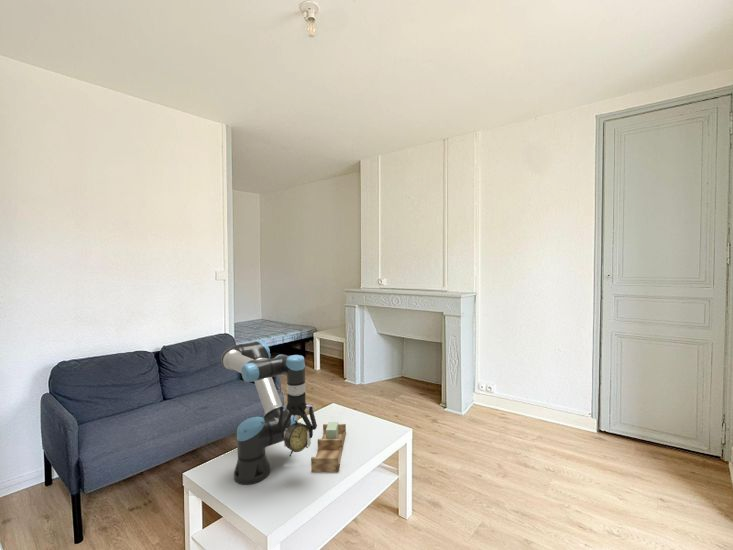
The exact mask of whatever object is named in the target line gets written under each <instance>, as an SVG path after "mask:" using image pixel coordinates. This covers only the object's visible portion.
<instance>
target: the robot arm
mask: <svg viewBox="0 0 733 550" xmlns="http://www.w3.org/2000/svg"><path fill="white" fill-rule="evenodd" d="M270 352H271V351H270V347H269V345H268V344H267V343H266V342H265V341H262V340H261V341H260V340H259V341H256V340H255V341H252V342H247V343H239V344H234V345H231V346H229V347H228V348H227V349H225V350H224V351H223V353H222V354H221V357H220V359H221V360H220V362H221V365H222V366H223V367H224V368H225V369H227V370H230V371H236V372H237V373H240V374H241V377H242V380H243V382H246V383H250V382H251V383H252V382H254V385H255V388H256V390H257V391H256V392H257V394H258V397H259V400H260V402H261V406H262V408H263V411H264V415H263V417H262V416H253V417H248V418H247V419H245V420H243V421H242V422H241V423H240V424H239V425H238V427H237V429H236V440H237V441H236V444H237V446H236V447H237V462H236V464H235V469H234V471H233V479H234V481H235V483H237V482H238V484H241V485H253V484H257V483H259V482H261V481H263V480H265V479H266V478H267V477H268V476H269V475H270V474H271V473H270V472H271V464H270V462H269V460H268V456H267V454H266V448H268V447H270V446H274V445H276V444H279V443H281V442H283V445H284V447H285V448H287V447H286V445H285V442H284V437H285V433H286V431H287V429H288V428H289V427H290V426H291V425H292V424H294V423H296V422H294V421H296V420H297V416H298V417H299V416H300V418H301V419H302V420H303V422H304V424H305V425H306V426H307V428H308V431H307V443H308V445H307V447H308V448H310V446H311V443H312V442H311V439H312V438H313V436H314V431H315V430H316V429H317V427H318V424H317V421H316V416H315V413H314V404H307V402H306V397H307V396H306V364H305V357H304V356H303V355H301V354H300V355H299V354H293V355H286V354H278V355H276V356H275V357H274V358H271V353H270ZM281 375H284V376H286V388H287V390H286V392H287V394H286V395H287V396H286V397H287V398H286V399H287V404H285V405H284V404H283V403H282V401H281V397H280V395H279V392H278V390H277V387H276V384H275V382H274V379H273V377H277V376H281ZM306 409H307V411H308V414H309V417H308V415H307V412H306ZM294 415H295V417H294ZM293 417H294V421H293ZM309 418H310V419H309Z"/></svg>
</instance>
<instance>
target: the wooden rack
mask: <svg viewBox="0 0 733 550" xmlns="http://www.w3.org/2000/svg"><path fill="white" fill-rule="evenodd" d="M327 425H328V423H323V424H322V432H323V434H322V438H317V451H316V455H315V456H311V459H310V465H311V469H310V470H311V473H339V472H340V466H341V459H342V453H343V450H344V444H345V441H346V434H347V429H346V427H347V426H346V425H347V424H346V423H338V439H326V428H327Z"/></svg>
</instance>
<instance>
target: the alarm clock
mask: <svg viewBox="0 0 733 550" xmlns="http://www.w3.org/2000/svg"><path fill="white" fill-rule="evenodd" d="M295 416H296V415H294V417H295ZM294 417H293V421H294ZM300 418H301V416H298V419H296V421H294V422H296V423H294V424H292V425H291V426H290V427H289V428H288V429H287V431H286V433H285V437H284V441H283V443H284V442H285V445H286V447H285V448H287V449H288V450H290V454H289V457H292V455H293V453H294V452H295V453H298V452H302V451H303V450H304V449H305V448H306V449H308V448H309V447H308V443H307V431H308V428H307V426H306V424H305V423H303V422H298V421H299V420H300Z"/></svg>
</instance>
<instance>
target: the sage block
mask: <svg viewBox="0 0 733 550" xmlns="http://www.w3.org/2000/svg"><path fill="white" fill-rule="evenodd" d="M327 424H328V425H327V428H326V439H338V424H339V421H328V423H327Z"/></svg>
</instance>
